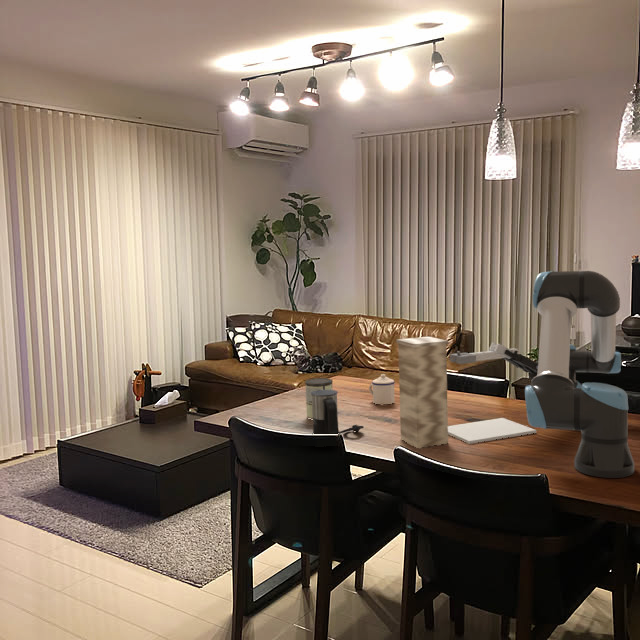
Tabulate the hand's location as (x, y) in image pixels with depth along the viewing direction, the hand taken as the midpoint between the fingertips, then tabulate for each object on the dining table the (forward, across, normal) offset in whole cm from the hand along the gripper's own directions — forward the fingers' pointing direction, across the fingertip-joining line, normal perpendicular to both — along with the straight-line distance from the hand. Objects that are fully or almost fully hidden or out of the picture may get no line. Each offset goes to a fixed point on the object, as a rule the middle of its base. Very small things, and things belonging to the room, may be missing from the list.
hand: (494, 346), depth 222 cm
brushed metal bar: (+1, 0, -5) cm, 5 cm away
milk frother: (+28, +22, -49) cm, 60 cm away
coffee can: (+25, +45, -48) cm, 70 cm away
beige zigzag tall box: (+9, 0, -38) cm, 39 cm away
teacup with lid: (-1, +55, -33) cm, 64 cm away
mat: (-11, 0, -26) cm, 29 cm away
